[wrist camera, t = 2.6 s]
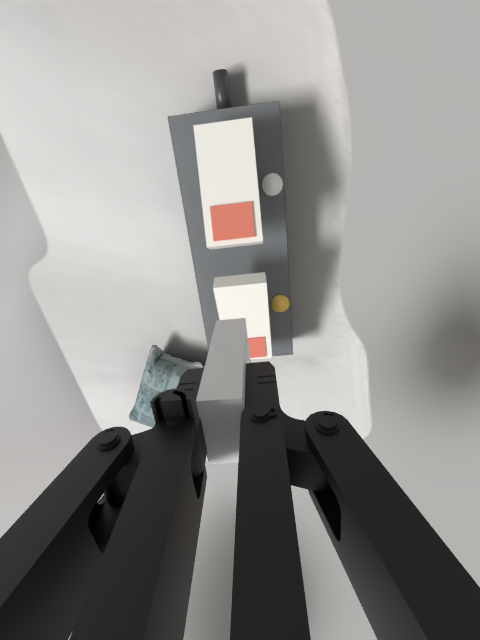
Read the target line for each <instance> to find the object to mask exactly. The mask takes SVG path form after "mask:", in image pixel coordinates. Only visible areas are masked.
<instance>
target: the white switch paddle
mask: <svg viewBox="0 0 480 640" xmlns="http://www.w3.org/2000/svg"><path fill="white" fill-rule="evenodd" d="M213 290H214V295H215V300H216V305H217V309H218V314H219V319H220V320H227V319H238V318H245V319H246V327H247V336H248V344H249V353H250V360H252V359H264V358H272V348H271V335H270V322H269V309H268V295H267V282H266V274H265V272H262V273H252V274H242V275H233V276H223V277H214V283H213Z"/></svg>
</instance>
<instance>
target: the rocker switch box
mask: <svg viewBox="0 0 480 640" xmlns="http://www.w3.org/2000/svg"><path fill="white" fill-rule="evenodd" d="M213 78H214V87H215V95H216V103H217V110H211V111H203V112H196V113H189V114H182V115H175V116H168V122H169V127H170V133H171V139H172V145H173V150H174V156H175V162H176V167H177V173H178V179H179V185H180V190H181V196H182V202H183V207H184V213H185V219H186V225H187V230H188V236H189V242H190V247H191V253H192V259H193V265H194V270H195V276H196V282H197V287H198V293H199V299H200V305H201V310H202V316H203V322H204V327H205V333H206V339H207V345H208V350H209V347H210V343H211V339H212V335H213V331H214V327H215V324H216V321H217V320H220V319H219V314H218V309H217V305H216V300H215V295H214V290H213V283H214V277H223V276H233V275H242V274H252V273H262V272H265V274H266V282H267V295H268V309H269V322H270V335H271V348H272V356H280V355H292V354H293V344H292V326H291V308H290V289H289V271H288V252H287V234H286V216H285V197H284V179H283V160H282V142H281V123H280V105H279V101H274V102H267V103H260V104H253V105H246V106H239V107H232V108H231V102H230V92H229V83H228V74H227V70H225V69H220V70H216V71H214V72H213ZM251 117H252V124H253V135H254V146H255V158H256V169H257V180H258V191H259V202H260V213H261V224H262V235H263V244H256V245H247V246H238V247H229V248H220V249H211V250H210V249H208V248H207V245H206V236H205V227H204V218H203V209H202V200H201V191H200V182H199V173H198V164H197V155H196V145H195V136H194V127H193V125H200V124H207V123H215V122H222V121H229V120H236V119H243V118H251Z"/></svg>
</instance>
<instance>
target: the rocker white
mask: <svg viewBox="0 0 480 640" xmlns="http://www.w3.org/2000/svg"><path fill="white" fill-rule="evenodd" d="M193 127H194V136H195V145H196V155H197V164H198V173H199V182H200V191H201V200H202V209H203V218H204V227H205V236H206V245H207V248H208V249H210V250H211V249H220V248H229V247H238V246H247V245H256V244H263V235H262V224H261V213H260V202H259V191H258V180H257V169H256V158H255V146H254V135H253V124H252V117H251V118H243V119H236V120H229V121H222V122H215V123H207V124H200V125H193Z"/></svg>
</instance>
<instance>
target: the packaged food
mask: <svg viewBox="0 0 480 640" xmlns="http://www.w3.org/2000/svg"><path fill="white" fill-rule="evenodd" d="M159 349H160V348H159V347H157V345H153V346H152V348H151V350H150V353H149V356H148V359H147V362H146V366H145V370H144V373H143V376H142V381H141V384H140V390H139V392H138V394H137V398H136V403H135V406H134V407H133V409H132V411H131V412H130V415H129V419H130V420H133V421H136V422H138V423H141V424H144V425H147V426H150V427H152V428H153V427H154V425H155V419H154V415H153V411H152V408H151V404H150V401H151V400H152V399H153V397H155V396H156V395H157V394H159V393H161V392H163V391H166V390H169V389H174V388H175V389H176V388H177V385H178V382H179V380H180V377H181V375H182V374H183V373H184V372H185V371H187V370H188V369H195V368H204V367H205V366H202V364H201V363H200V362H193V363H192V362H189V361H187V360H185V359H181V358H175V357H172V356H171V355H170V354H165V353H163V350H161V349H160V350H159Z"/></svg>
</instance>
